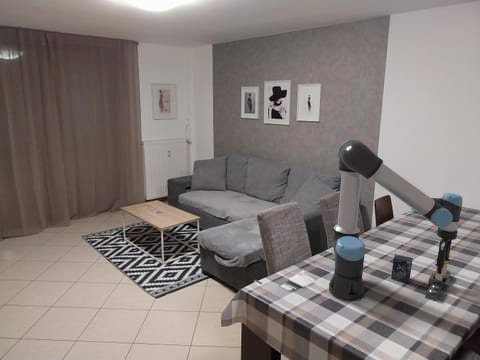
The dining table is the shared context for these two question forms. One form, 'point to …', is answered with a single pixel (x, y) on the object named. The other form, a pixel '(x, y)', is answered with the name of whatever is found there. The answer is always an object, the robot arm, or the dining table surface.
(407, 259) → the box
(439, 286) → the studded dark bracket
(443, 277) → the pin
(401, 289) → the dining table surface
